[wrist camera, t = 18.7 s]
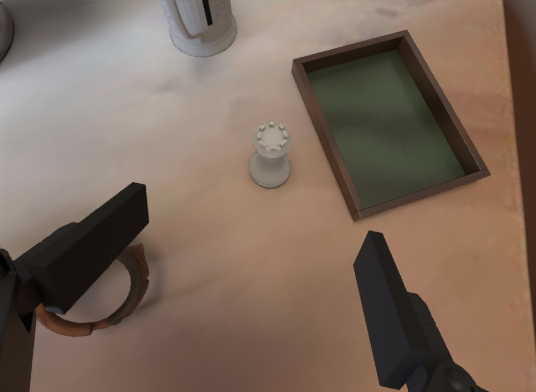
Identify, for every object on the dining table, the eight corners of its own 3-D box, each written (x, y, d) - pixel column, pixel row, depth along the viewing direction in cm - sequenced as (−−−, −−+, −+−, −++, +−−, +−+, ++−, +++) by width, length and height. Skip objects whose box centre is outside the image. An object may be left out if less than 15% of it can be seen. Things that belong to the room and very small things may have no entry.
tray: (291, 72, 32) (293, 59, 30) (398, 43, 34) (407, 29, 32) (353, 222, 27) (360, 218, 25) (475, 181, 29) (491, 174, 27)
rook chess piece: (265, 196, 28) (267, 170, 20) (241, 166, 29) (234, 129, 21) (297, 173, 29) (310, 140, 21) (273, 144, 29) (277, 101, 22)
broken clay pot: (129, 203, 28) (123, 213, 20) (163, 278, 30) (170, 311, 22) (-11, 254, 23) (-83, 290, 16) (41, 338, 25) (-1, 405, 18)
